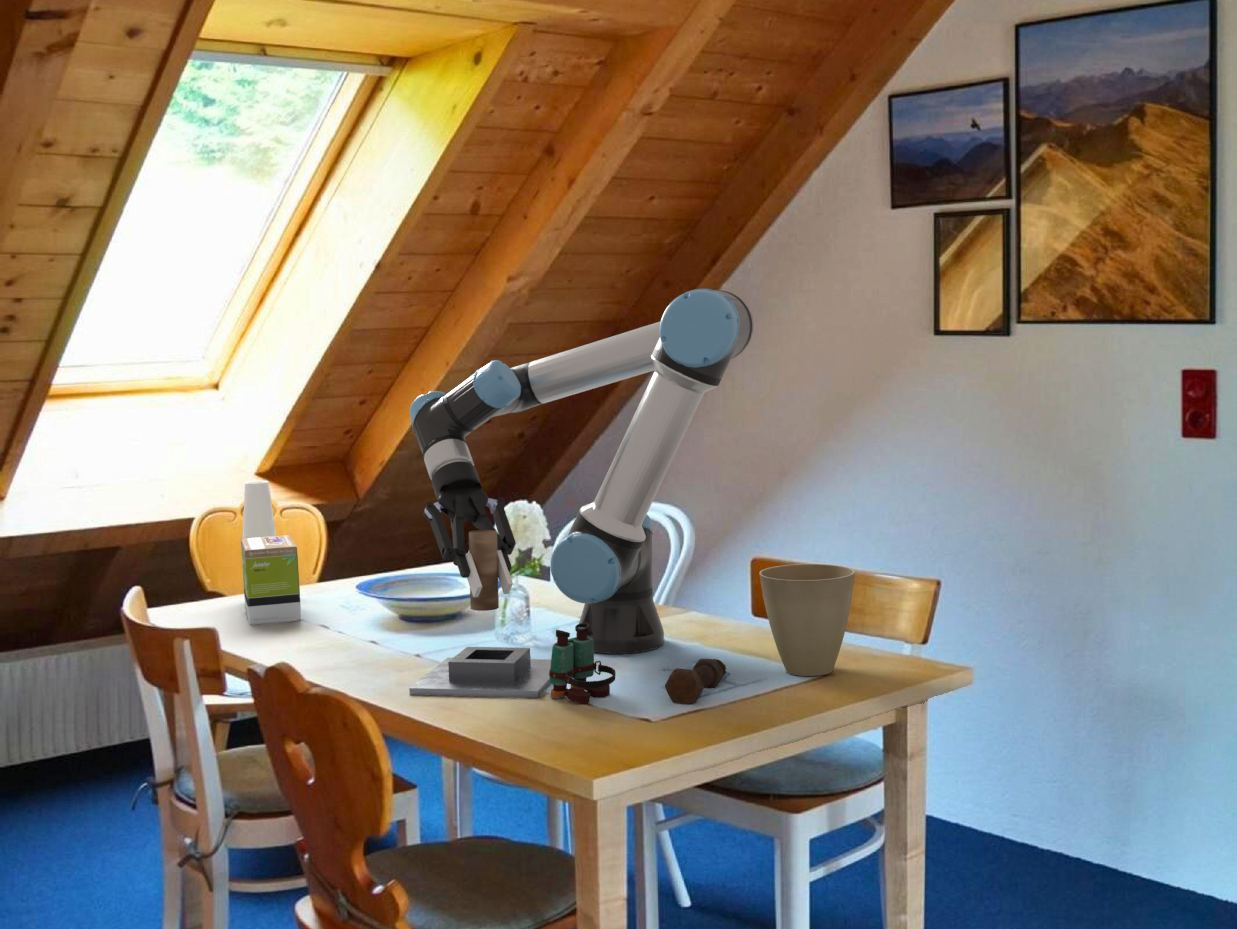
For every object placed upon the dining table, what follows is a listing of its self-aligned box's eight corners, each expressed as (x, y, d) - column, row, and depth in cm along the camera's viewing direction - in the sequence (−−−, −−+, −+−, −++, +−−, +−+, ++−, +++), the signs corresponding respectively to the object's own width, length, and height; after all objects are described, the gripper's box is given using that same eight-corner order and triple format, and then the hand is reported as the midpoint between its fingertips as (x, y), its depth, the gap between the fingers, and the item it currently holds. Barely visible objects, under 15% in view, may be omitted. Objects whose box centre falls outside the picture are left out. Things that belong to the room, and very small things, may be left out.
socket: (566, 665, 240) (565, 641, 240) (537, 697, 221) (537, 671, 220) (448, 663, 244) (447, 639, 243) (409, 694, 224) (408, 668, 224)
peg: (501, 605, 233) (500, 530, 232) (494, 611, 229) (492, 534, 227) (474, 604, 234) (473, 529, 232) (467, 610, 229) (465, 534, 228)
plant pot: (826, 656, 243) (825, 560, 241) (873, 676, 229) (873, 574, 227) (744, 666, 237) (743, 568, 236) (787, 687, 223) (786, 583, 222)
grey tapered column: (283, 597, 304) (277, 482, 302) (251, 601, 301) (245, 484, 299) (273, 592, 310) (267, 479, 308) (241, 596, 307) (235, 481, 304)
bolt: (722, 692, 229) (686, 714, 215) (695, 674, 230) (659, 694, 217) (740, 661, 227) (705, 681, 213) (713, 643, 229) (677, 662, 215)
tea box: (243, 611, 292) (239, 537, 290) (295, 606, 295) (291, 533, 293) (248, 626, 278) (244, 548, 276) (302, 621, 281) (298, 544, 279)
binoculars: (592, 643, 212) (540, 628, 218) (588, 714, 214) (537, 697, 220) (631, 632, 219) (580, 618, 225) (627, 700, 221) (577, 684, 227)
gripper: (496, 484, 247) (538, 598, 234) (397, 492, 239) (434, 610, 226) (508, 456, 242) (551, 571, 229) (406, 462, 234) (445, 581, 221)
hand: (493, 590), depth 227 cm, fingers closed on peg, 4 cm apart
